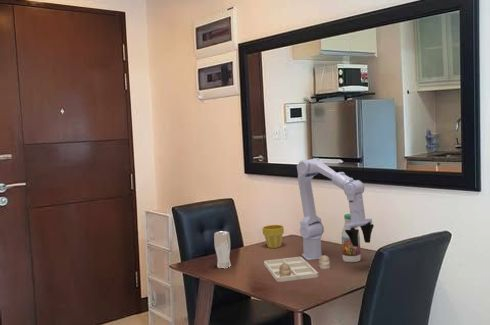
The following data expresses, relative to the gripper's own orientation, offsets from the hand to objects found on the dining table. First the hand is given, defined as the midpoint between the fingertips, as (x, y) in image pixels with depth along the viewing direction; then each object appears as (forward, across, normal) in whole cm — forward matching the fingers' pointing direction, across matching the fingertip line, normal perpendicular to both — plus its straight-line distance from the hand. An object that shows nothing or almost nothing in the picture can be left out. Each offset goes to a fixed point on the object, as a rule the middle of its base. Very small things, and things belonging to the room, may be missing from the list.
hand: (361, 244), depth 208 cm
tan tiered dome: (+8, -28, +17) cm, 34 cm away
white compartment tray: (+8, -21, +22) cm, 31 cm away
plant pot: (+4, +2, +57) cm, 57 cm away
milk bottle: (+9, +8, +13) cm, 18 cm away
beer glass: (+5, -34, +50) cm, 60 cm away
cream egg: (+9, -8, +14) cm, 19 cm away
